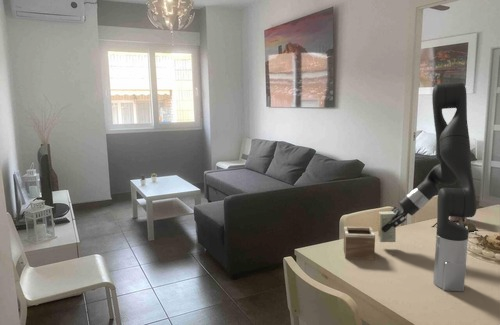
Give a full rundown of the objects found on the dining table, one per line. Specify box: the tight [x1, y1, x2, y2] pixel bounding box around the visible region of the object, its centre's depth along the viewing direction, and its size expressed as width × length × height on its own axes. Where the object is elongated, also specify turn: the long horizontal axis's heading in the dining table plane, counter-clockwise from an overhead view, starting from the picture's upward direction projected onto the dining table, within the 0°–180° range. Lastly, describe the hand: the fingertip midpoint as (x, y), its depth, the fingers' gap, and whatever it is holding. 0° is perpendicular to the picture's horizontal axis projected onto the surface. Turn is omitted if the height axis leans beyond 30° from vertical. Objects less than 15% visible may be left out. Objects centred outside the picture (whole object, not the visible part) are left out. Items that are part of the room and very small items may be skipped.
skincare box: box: [377, 210, 397, 243], centre depth 154 cm, size 6×4×12 cm
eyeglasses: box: [431, 219, 479, 233], centre depth 174 cm, size 15×15×5 cm
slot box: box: [343, 225, 376, 261], centre depth 149 cm, size 10×11×10 cm
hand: (382, 228), depth 155 cm, fingers closed on skincare box, 4 cm apart
